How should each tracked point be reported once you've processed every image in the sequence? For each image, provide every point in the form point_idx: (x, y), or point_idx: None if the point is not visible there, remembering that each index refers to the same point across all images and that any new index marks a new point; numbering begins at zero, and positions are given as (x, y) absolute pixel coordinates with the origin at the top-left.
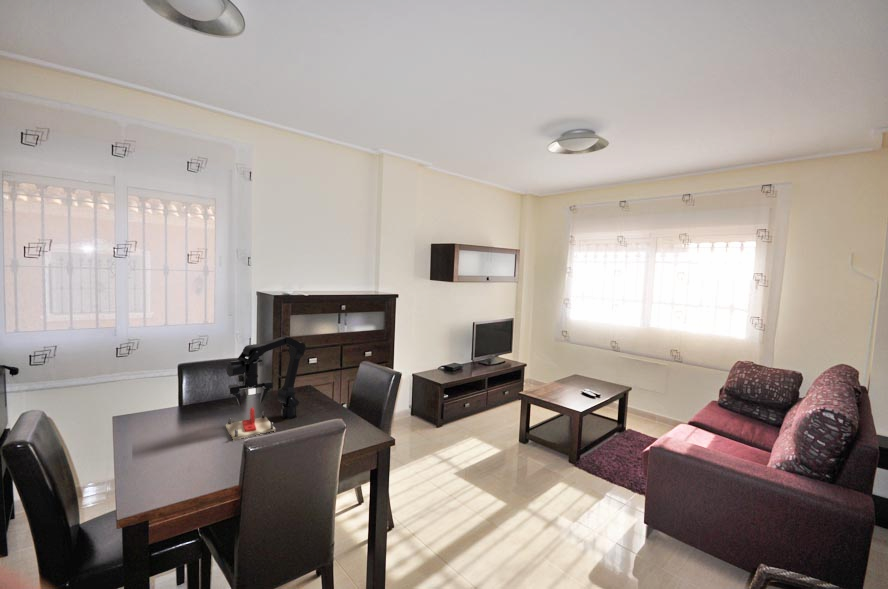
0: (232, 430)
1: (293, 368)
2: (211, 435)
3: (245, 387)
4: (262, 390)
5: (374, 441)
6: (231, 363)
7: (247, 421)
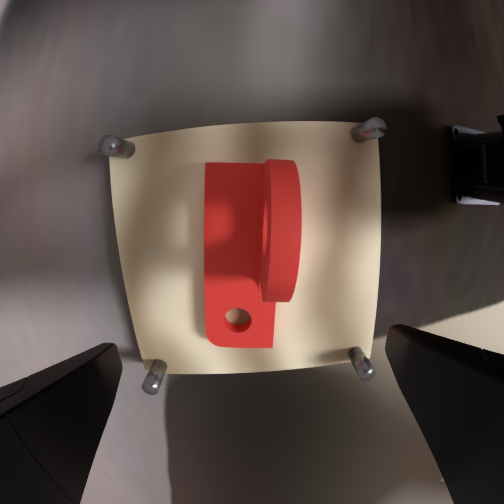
0: (138, 276)
1: None
2: (55, 242)
3: None
4: (497, 476)
5: None
6: None
7: (238, 202)
